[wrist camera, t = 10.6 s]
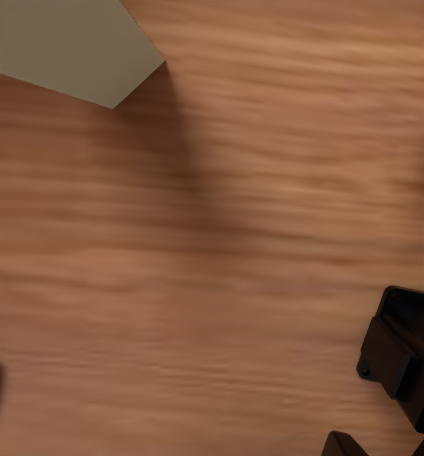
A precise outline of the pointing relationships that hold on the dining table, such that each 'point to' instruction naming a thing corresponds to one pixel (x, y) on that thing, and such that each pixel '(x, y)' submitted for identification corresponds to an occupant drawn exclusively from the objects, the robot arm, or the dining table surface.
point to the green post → (76, 48)
